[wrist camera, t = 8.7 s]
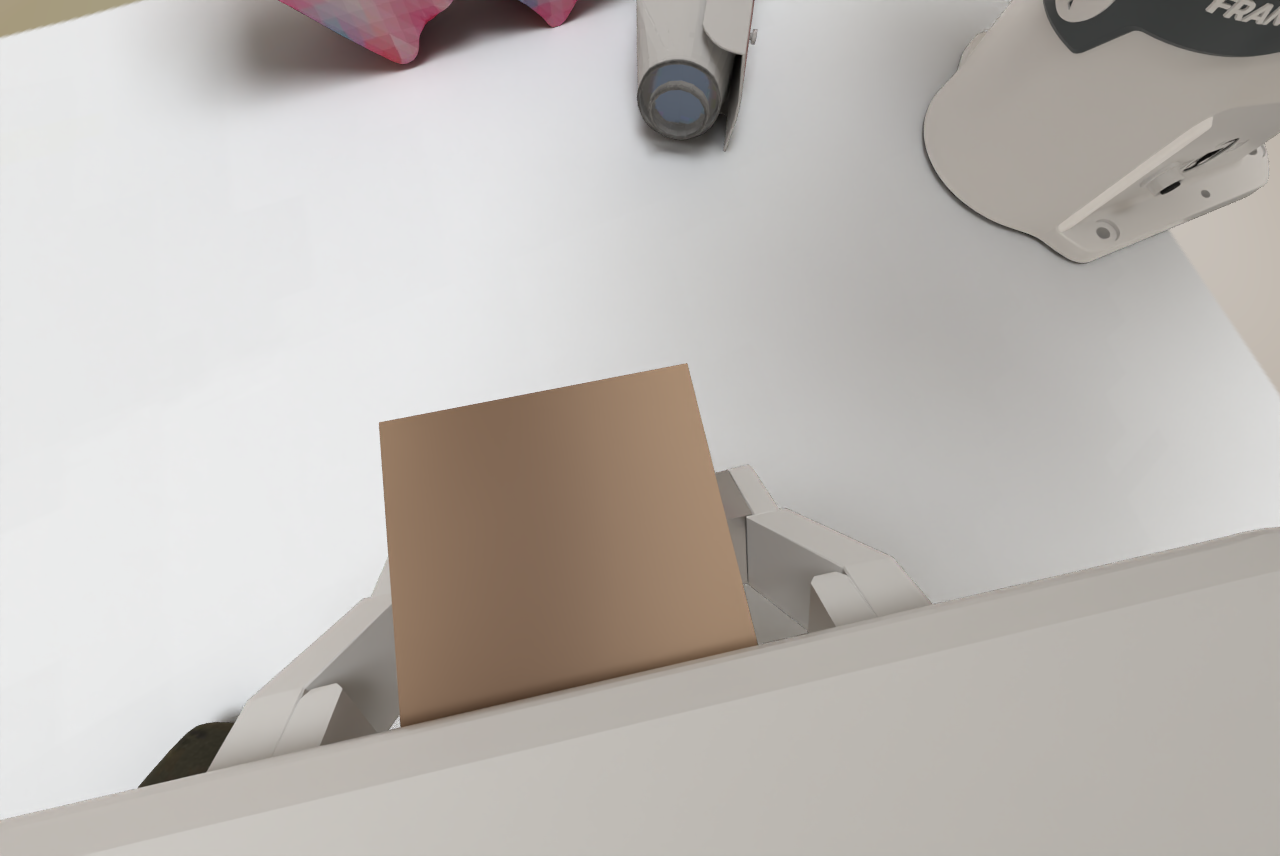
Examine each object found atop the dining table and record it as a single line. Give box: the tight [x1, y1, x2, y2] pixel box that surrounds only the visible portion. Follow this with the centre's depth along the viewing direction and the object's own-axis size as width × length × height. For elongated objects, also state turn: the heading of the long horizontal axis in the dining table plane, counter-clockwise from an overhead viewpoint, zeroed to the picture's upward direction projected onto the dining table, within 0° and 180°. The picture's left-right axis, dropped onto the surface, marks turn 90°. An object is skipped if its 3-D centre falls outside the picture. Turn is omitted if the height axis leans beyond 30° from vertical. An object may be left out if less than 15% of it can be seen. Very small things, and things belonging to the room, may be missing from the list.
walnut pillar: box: [379, 363, 758, 727], centre depth 11 cm, size 4×4×9 cm
